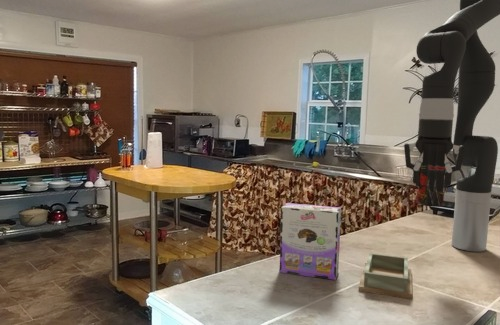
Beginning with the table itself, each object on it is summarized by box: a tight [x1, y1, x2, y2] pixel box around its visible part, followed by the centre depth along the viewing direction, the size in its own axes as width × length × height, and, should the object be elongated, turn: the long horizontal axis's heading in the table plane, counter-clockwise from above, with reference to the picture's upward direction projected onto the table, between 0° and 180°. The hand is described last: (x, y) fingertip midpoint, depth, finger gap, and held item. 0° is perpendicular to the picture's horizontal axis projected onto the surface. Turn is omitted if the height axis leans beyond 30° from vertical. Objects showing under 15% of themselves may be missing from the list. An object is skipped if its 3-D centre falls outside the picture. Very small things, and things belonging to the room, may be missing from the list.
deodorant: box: [416, 143, 448, 208], centre depth 105 cm, size 6×6×15 cm
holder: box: [358, 252, 413, 300], centre depth 100 cm, size 16×11×4 cm
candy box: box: [278, 202, 342, 280], centre depth 104 cm, size 14×6×16 cm, turn 71°
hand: (431, 186), depth 105 cm, fingers closed on deodorant, 6 cm apart
